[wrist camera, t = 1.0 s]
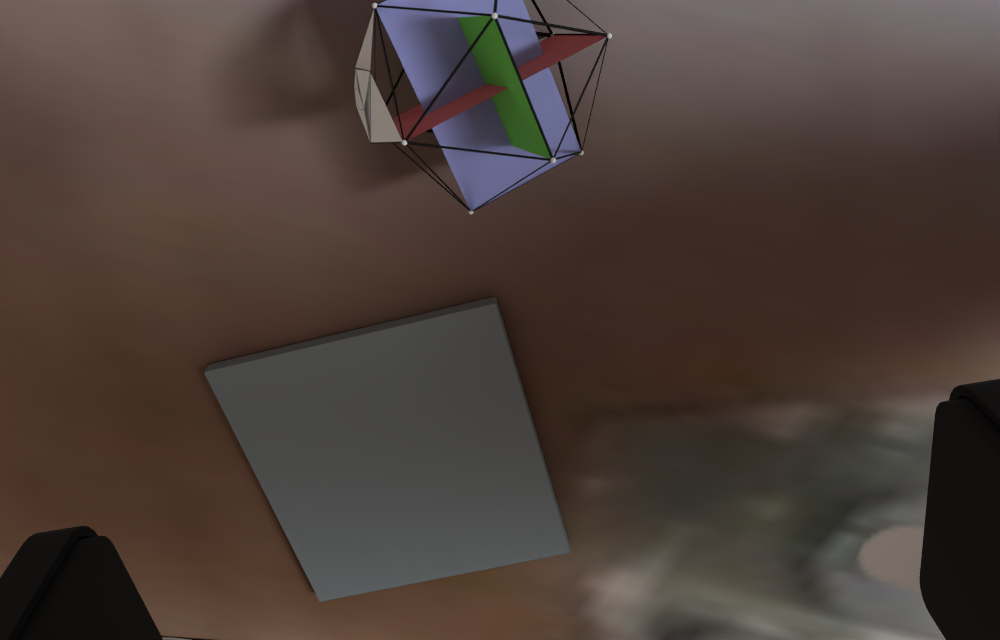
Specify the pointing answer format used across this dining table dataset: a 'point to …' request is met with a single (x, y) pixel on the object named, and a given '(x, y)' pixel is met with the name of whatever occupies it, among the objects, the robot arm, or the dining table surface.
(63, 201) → the dining table surface
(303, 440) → the mat
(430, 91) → the geometric puzzle
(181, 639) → the supplement box
